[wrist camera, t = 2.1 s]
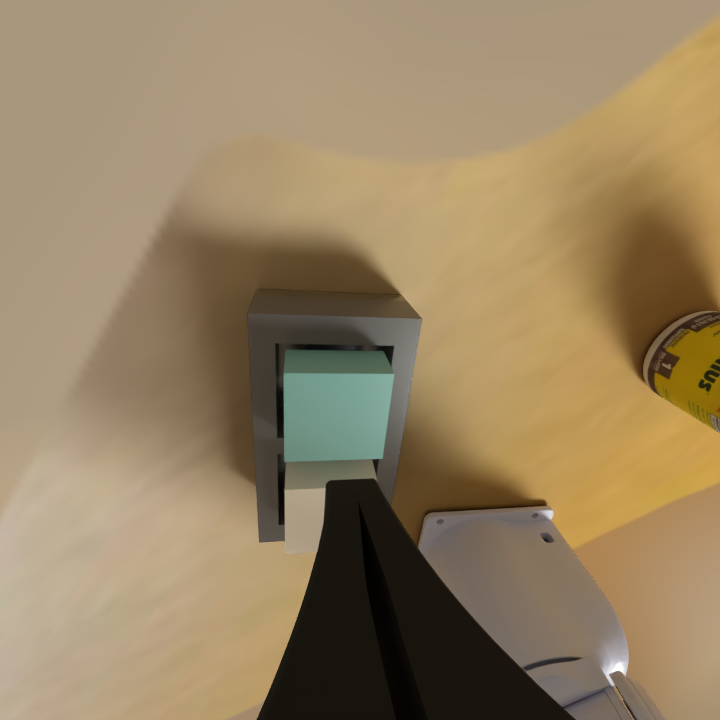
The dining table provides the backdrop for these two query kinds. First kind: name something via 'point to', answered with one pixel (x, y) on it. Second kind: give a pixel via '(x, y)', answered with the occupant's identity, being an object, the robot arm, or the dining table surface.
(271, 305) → the bezel
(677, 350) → the supplement bottle
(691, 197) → the dining table surface
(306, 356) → the key teal
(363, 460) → the key cream
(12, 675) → the dining table surface
